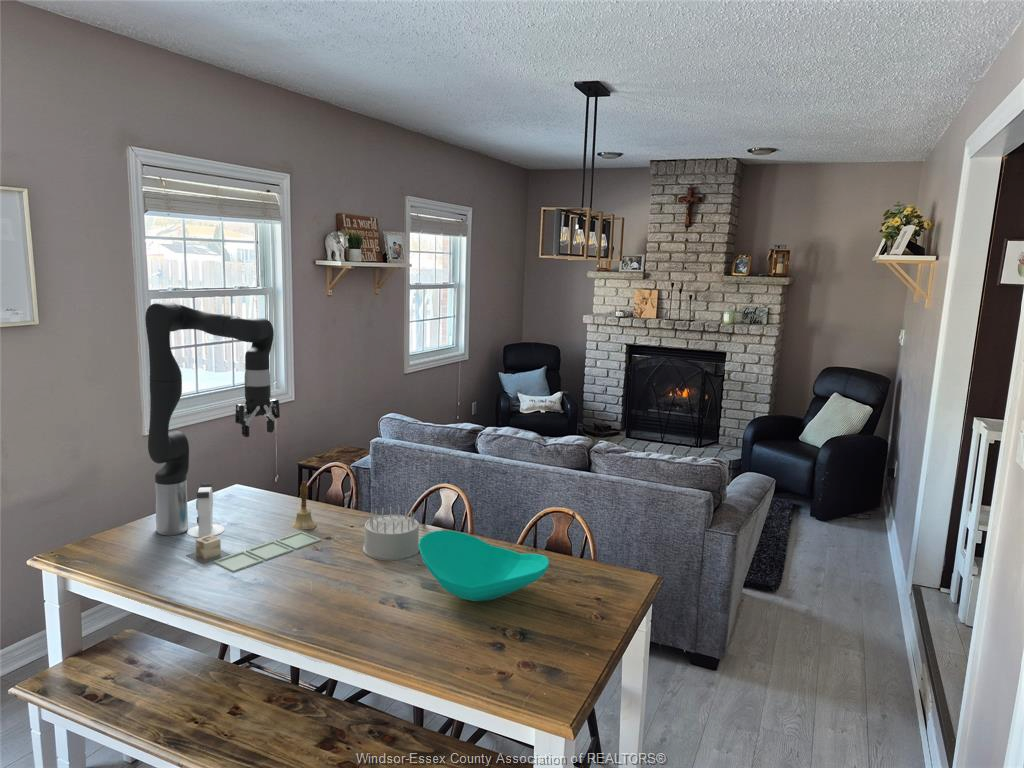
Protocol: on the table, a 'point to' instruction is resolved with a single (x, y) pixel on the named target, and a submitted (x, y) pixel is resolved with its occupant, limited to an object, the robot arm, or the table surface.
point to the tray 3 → (298, 540)
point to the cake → (391, 536)
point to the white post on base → (205, 514)
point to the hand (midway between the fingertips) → (258, 434)
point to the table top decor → (478, 566)
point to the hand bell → (304, 512)
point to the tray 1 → (238, 561)
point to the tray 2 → (269, 550)
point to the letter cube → (208, 547)
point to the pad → (202, 560)
